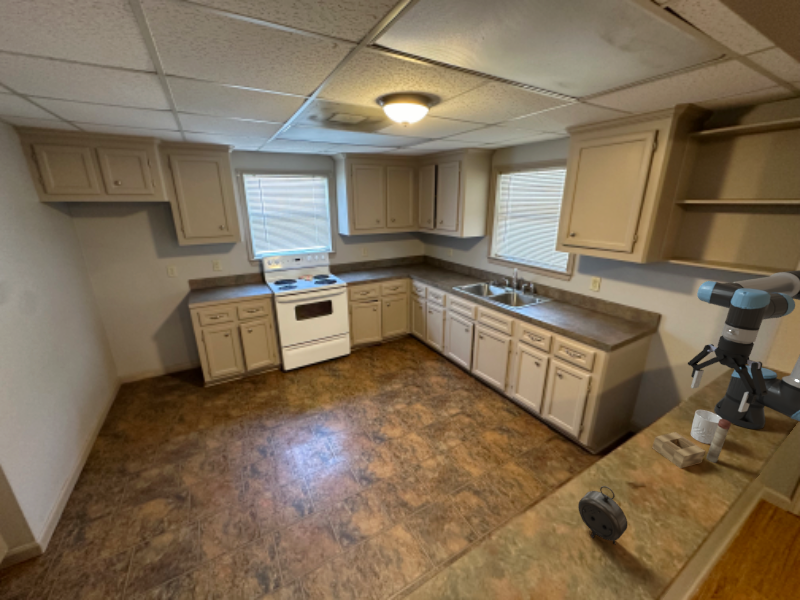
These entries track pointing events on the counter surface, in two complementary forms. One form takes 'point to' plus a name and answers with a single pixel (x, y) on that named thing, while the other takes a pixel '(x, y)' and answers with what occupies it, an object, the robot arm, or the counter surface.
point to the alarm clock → (602, 515)
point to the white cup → (704, 426)
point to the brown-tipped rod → (718, 440)
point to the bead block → (678, 449)
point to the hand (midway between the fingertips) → (717, 398)
